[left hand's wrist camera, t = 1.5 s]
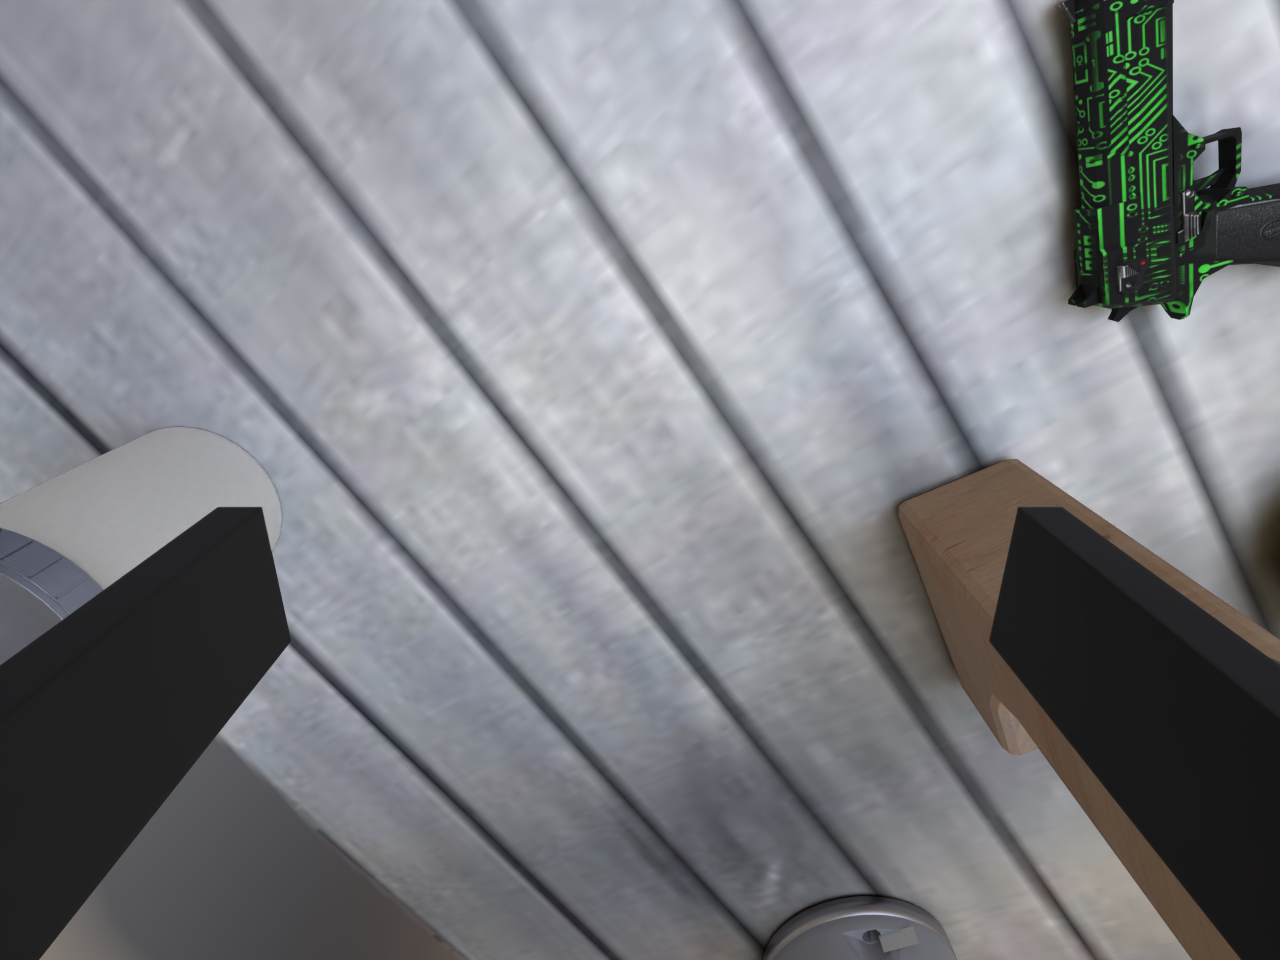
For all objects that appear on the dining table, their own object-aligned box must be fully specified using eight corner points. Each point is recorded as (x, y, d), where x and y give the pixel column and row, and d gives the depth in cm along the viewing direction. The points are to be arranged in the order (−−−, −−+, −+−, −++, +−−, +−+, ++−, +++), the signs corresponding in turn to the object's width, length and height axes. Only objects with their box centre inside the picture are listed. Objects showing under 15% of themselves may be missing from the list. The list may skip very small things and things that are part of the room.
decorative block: (960, 687, 47) (1420, 1386, 19) (890, 501, 42) (1376, 1085, 14) (1071, 646, 46) (1732, 1330, 18) (1014, 451, 41) (1804, 981, 13)
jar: (83, 502, 42) (-213, 662, 28) (173, 392, 40) (-99, 504, 25) (222, 604, 45) (19, 800, 30) (315, 506, 43) (143, 669, 28)
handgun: (1373, 290, 35) (1071, 347, 36) (1318, 285, 38) (1039, 338, 38) (1441, -101, 30) (1082, -26, 30) (1370, -73, 32) (1042, -5, 33)
